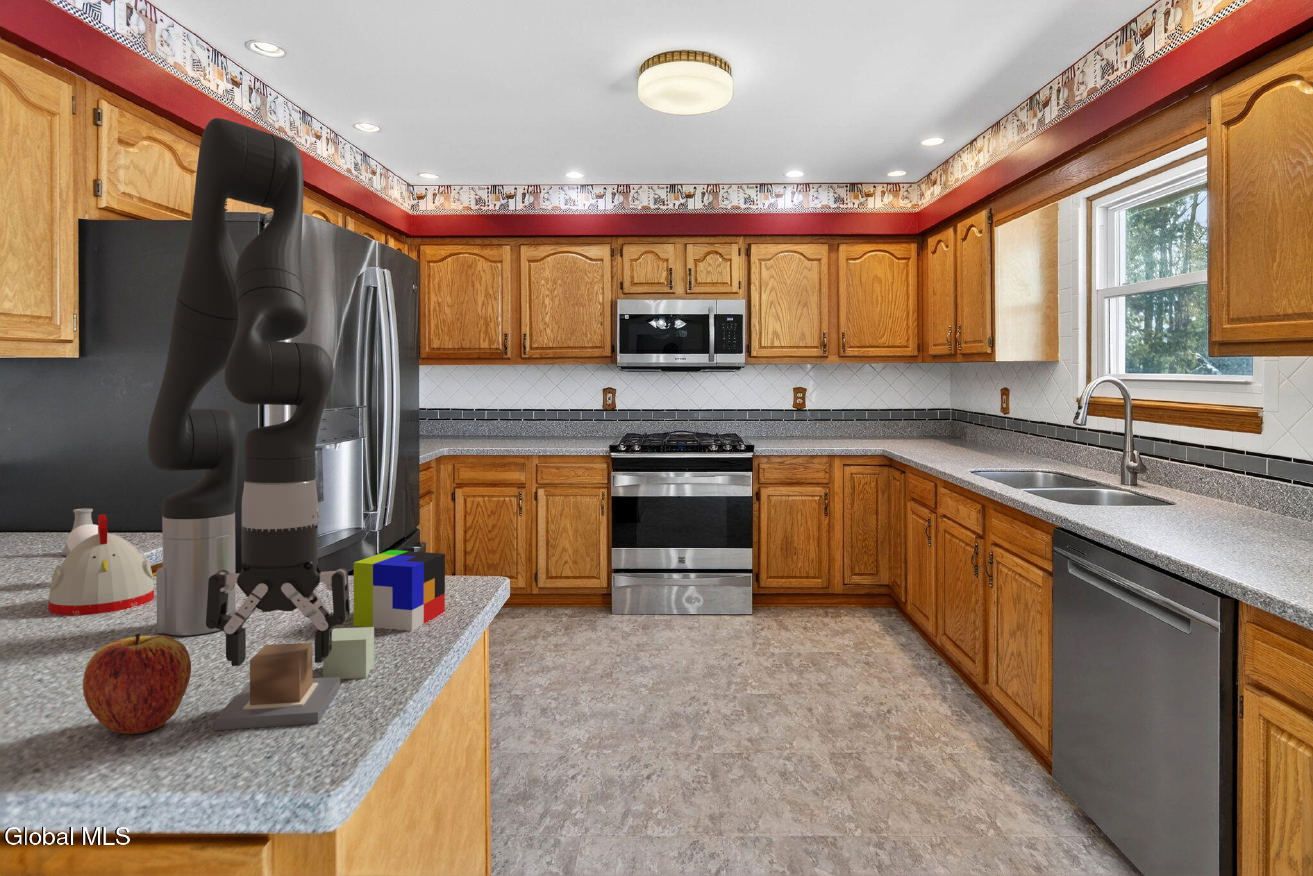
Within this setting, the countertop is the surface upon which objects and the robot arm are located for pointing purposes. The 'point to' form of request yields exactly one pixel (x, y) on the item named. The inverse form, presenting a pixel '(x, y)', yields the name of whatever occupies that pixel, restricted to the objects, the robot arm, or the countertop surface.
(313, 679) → the build board
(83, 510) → the flask
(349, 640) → the sage block
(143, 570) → the kitchen timer
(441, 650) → the countertop surface
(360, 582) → the puzzle toy
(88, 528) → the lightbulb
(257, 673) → the walnut block
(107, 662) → the apple
